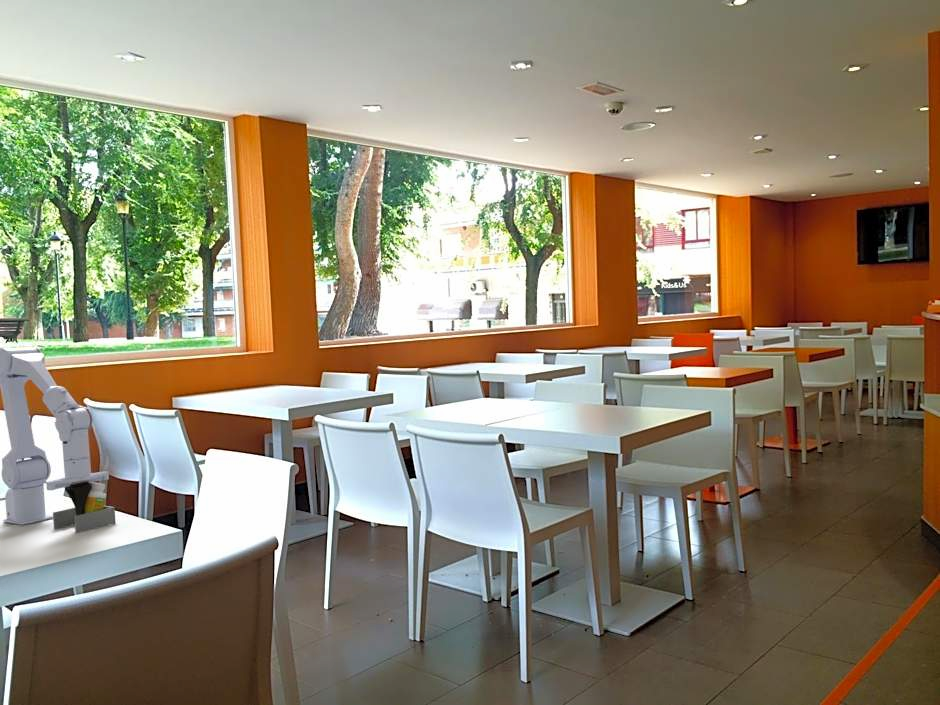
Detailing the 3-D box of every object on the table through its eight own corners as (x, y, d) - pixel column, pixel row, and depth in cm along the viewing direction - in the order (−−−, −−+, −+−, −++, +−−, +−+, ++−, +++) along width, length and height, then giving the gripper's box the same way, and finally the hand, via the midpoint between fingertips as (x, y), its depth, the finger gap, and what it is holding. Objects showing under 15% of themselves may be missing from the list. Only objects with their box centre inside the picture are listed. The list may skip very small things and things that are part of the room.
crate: (53, 528, 193) (52, 512, 193) (92, 519, 201) (91, 503, 201) (76, 533, 188) (75, 516, 187) (115, 523, 196) (114, 507, 196)
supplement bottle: (92, 524, 192) (101, 484, 194) (71, 521, 192) (80, 481, 194) (104, 524, 197) (112, 484, 199) (84, 521, 198) (92, 482, 200)
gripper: (56, 463, 184) (60, 522, 184) (114, 454, 196) (118, 509, 196) (39, 463, 188) (44, 520, 188) (97, 453, 200) (102, 507, 200)
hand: (81, 514), depth 193 cm, fingers closed, pressing on supplement bottle
